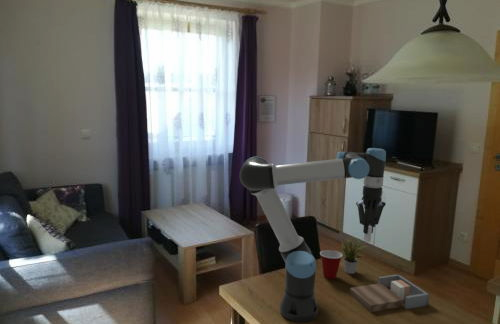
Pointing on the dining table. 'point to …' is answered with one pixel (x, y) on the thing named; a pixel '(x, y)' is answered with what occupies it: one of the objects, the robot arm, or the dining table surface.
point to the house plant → (351, 257)
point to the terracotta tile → (407, 287)
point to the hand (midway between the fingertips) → (367, 240)
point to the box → (417, 294)
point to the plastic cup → (330, 263)
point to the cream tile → (397, 289)
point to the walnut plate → (376, 297)
